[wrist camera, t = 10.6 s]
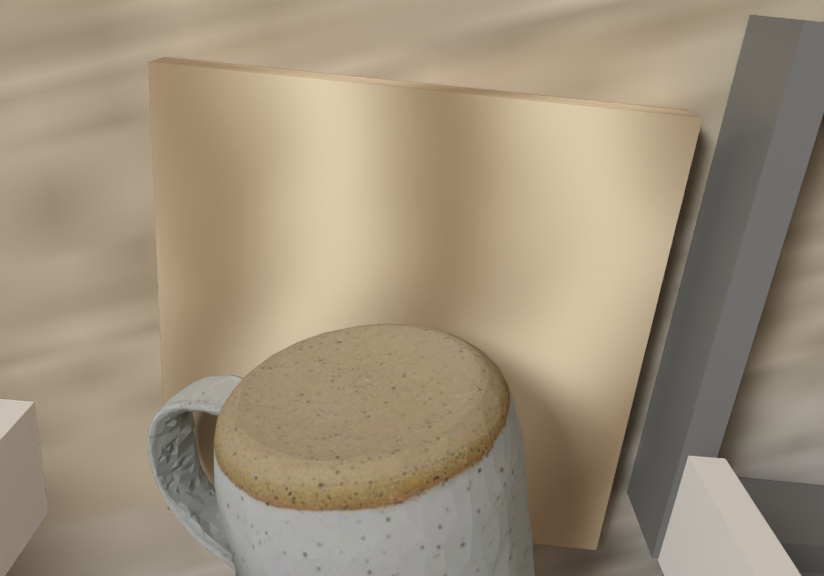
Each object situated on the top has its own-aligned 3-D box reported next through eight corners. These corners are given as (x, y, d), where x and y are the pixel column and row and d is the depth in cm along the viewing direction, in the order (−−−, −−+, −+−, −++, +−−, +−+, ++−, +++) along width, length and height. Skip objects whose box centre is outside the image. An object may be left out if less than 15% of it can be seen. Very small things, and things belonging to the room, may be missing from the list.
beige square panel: (179, 485, 25) (167, 509, 24) (164, 57, 19) (148, 61, 18) (588, 524, 25) (596, 549, 24) (687, 110, 20) (702, 117, 18)
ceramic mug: (509, 291, 19) (533, 501, 12) (528, 521, 23) (555, 780, 16) (130, 325, 21) (-37, 531, 14) (206, 537, 24) (104, 783, 17)
